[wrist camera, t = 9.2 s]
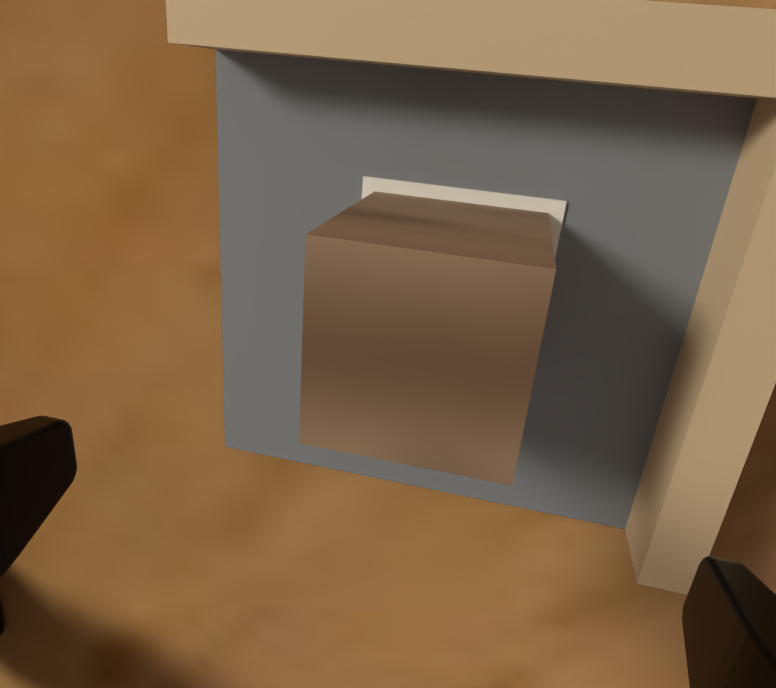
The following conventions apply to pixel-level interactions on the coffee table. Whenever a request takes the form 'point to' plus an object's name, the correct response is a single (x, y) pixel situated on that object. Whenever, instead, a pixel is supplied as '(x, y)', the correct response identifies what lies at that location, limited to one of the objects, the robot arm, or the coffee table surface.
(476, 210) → the walnut block
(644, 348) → the building mat
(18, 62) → the coffee table surface
